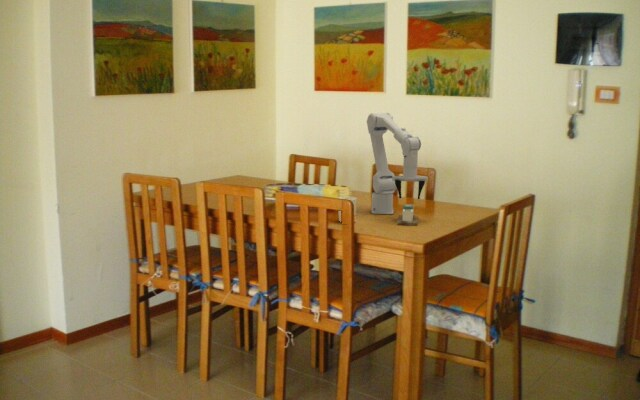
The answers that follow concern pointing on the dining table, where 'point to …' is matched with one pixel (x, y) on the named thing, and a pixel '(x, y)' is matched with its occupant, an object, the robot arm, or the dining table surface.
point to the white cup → (353, 203)
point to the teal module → (407, 206)
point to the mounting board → (412, 223)
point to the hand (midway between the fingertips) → (409, 198)
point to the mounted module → (407, 215)
